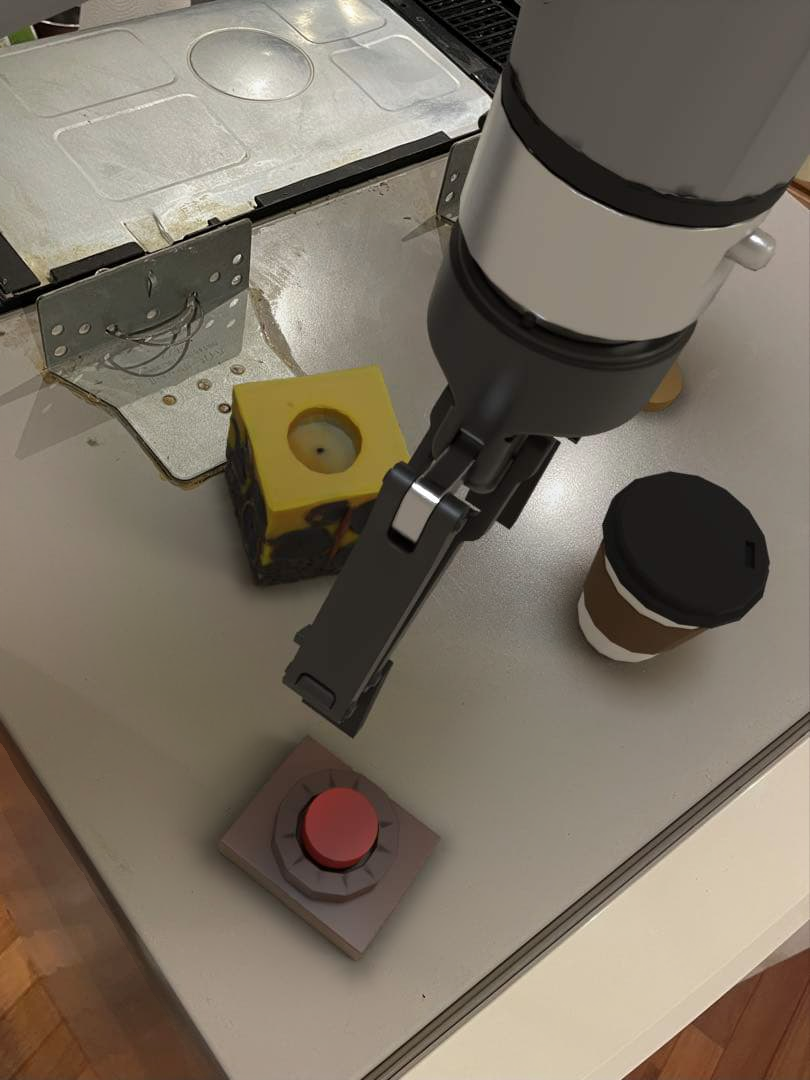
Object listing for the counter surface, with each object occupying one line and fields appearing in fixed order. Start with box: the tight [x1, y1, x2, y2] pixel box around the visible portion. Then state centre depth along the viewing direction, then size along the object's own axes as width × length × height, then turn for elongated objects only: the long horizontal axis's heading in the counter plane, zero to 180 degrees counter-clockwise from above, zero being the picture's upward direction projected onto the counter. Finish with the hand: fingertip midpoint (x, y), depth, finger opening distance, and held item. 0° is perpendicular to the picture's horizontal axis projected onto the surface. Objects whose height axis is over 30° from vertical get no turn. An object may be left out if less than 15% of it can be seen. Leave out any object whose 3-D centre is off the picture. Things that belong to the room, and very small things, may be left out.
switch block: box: [217, 734, 442, 961], centre depth 57 cm, size 10×8×4 cm
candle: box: [224, 364, 412, 587], centre depth 66 cm, size 10×10×10 cm
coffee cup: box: [577, 470, 771, 663], centre depth 66 cm, size 11×11×12 cm
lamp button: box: [301, 788, 378, 869], centre depth 54 cm, size 4×4×2 cm
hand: (417, 604), depth 46 cm, fingers open, 13 cm apart
